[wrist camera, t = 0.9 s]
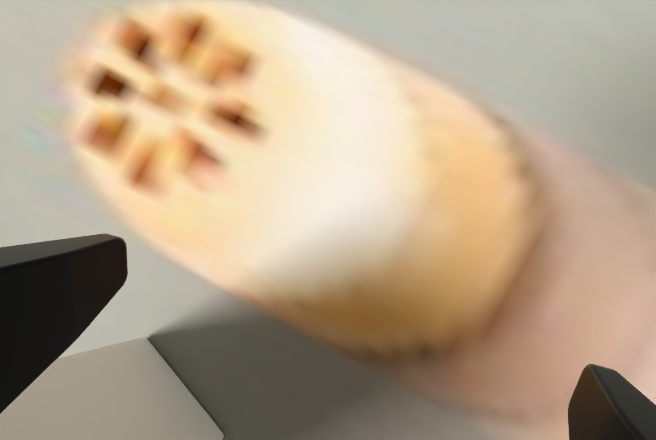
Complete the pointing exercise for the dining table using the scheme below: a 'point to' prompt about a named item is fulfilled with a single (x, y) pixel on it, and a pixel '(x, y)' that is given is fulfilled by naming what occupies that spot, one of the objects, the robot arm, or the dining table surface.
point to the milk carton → (108, 400)
